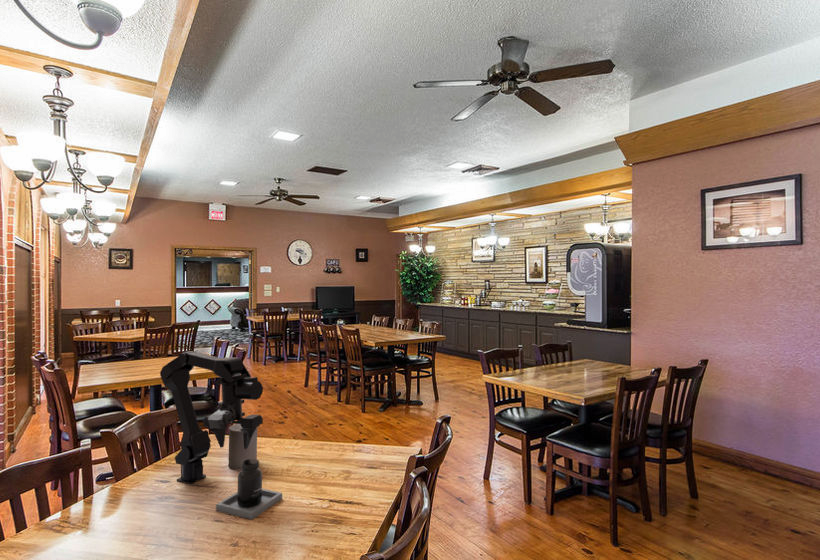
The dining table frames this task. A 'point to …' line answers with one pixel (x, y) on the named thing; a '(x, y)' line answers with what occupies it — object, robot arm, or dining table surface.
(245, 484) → the supplement bottle
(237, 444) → the pillar candle
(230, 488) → the dining table surface
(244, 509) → the tray
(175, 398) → the robot arm
